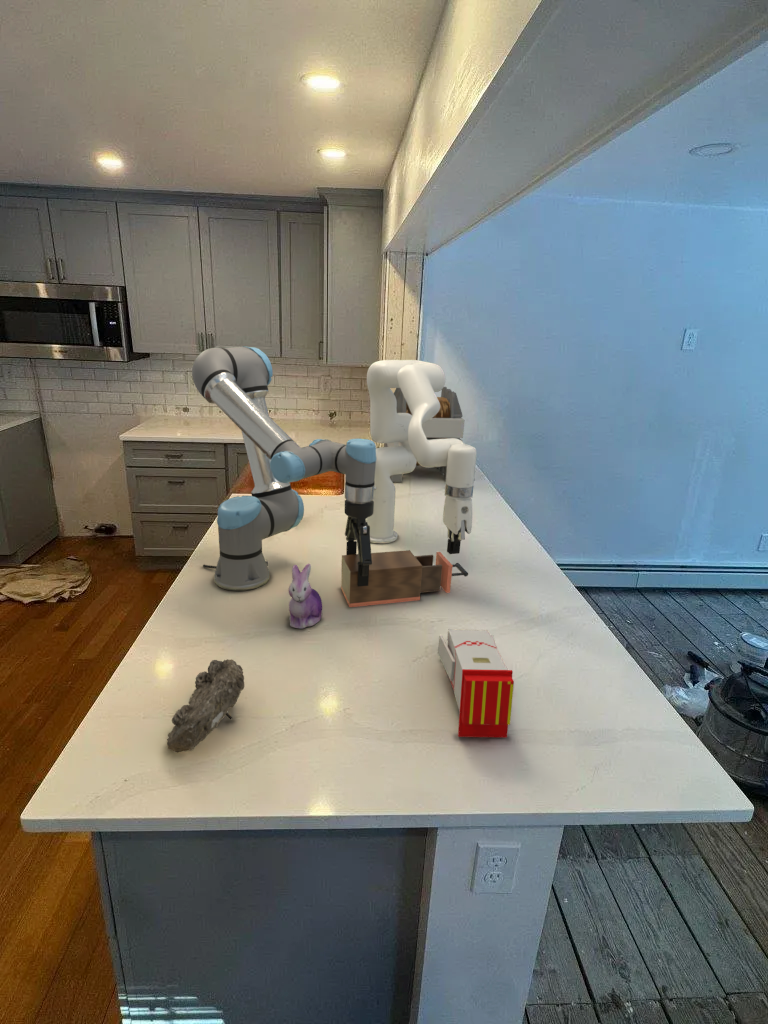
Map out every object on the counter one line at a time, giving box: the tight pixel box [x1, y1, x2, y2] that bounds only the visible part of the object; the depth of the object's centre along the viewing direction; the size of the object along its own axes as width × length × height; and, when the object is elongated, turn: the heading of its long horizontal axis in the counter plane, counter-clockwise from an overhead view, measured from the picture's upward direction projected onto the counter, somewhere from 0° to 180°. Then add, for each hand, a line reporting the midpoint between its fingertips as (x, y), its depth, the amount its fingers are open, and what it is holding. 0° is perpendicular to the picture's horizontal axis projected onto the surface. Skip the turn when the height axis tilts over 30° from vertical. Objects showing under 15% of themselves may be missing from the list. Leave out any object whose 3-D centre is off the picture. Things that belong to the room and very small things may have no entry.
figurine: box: [288, 563, 323, 629], centre depth 140 cm, size 9×10×15 cm
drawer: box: [414, 551, 469, 594], centre depth 159 cm, size 24×9×8 cm, turn 106°
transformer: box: [383, 386, 465, 483], centre depth 268 cm, size 34×33×41 cm
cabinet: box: [340, 549, 422, 608], centre depth 155 cm, size 20×11×10 cm, turn 106°
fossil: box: [166, 658, 245, 754], centre depth 106 cm, size 22×10×15 cm
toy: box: [437, 628, 515, 738], centre depth 117 cm, size 12×13×30 cm
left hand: (356, 574), depth 153 cm, fingers open, 13 cm apart
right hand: (453, 552), depth 159 cm, fingers closed
